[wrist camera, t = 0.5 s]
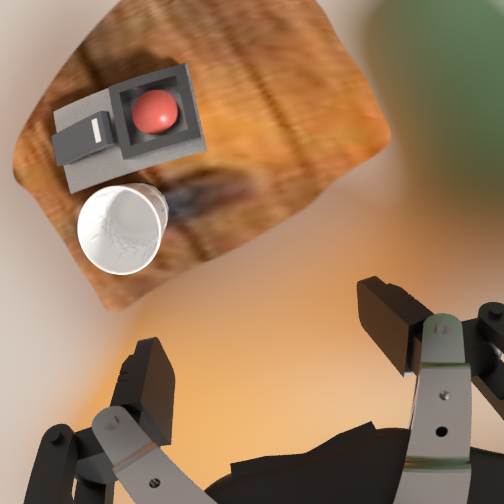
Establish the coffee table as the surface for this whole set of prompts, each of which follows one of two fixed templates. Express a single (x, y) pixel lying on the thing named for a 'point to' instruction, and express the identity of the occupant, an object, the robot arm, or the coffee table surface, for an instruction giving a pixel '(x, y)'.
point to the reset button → (155, 112)
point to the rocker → (83, 138)
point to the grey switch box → (134, 128)
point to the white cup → (123, 227)
